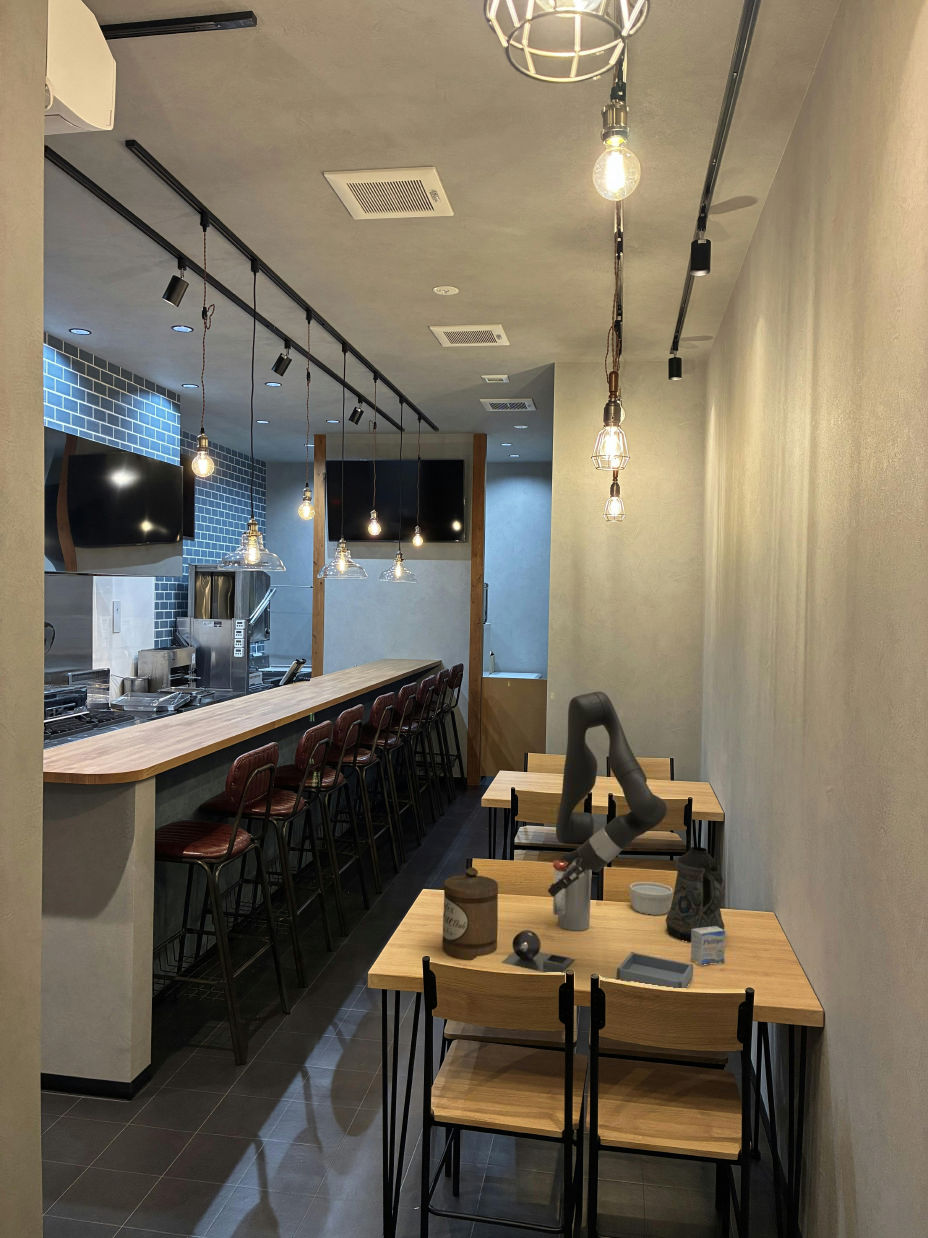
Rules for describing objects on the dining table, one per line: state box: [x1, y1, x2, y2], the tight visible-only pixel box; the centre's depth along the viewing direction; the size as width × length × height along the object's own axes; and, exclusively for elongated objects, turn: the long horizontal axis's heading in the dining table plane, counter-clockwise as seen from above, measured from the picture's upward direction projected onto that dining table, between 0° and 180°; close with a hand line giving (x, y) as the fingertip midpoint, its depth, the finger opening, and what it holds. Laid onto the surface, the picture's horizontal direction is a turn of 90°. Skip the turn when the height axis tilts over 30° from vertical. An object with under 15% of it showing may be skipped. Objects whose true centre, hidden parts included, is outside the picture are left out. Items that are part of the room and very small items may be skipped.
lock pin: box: [552, 859, 568, 916], centre depth 224 cm, size 4×4×13 cm
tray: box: [616, 951, 694, 989], centre depth 218 cm, size 13×16×4 cm
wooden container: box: [442, 866, 499, 961], centre depth 235 cm, size 15×15×22 cm
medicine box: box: [690, 926, 726, 966], centre depth 232 cm, size 8×4×9 cm, turn 114°
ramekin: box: [629, 881, 674, 916], centre depth 273 cm, size 13×13×7 cm
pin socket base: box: [501, 929, 576, 973], centre depth 226 cm, size 12×16×8 cm
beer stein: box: [665, 846, 726, 943], centre depth 252 cm, size 16×19×25 cm
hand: (551, 891), depth 224 cm, fingers closed on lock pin, 3 cm apart
